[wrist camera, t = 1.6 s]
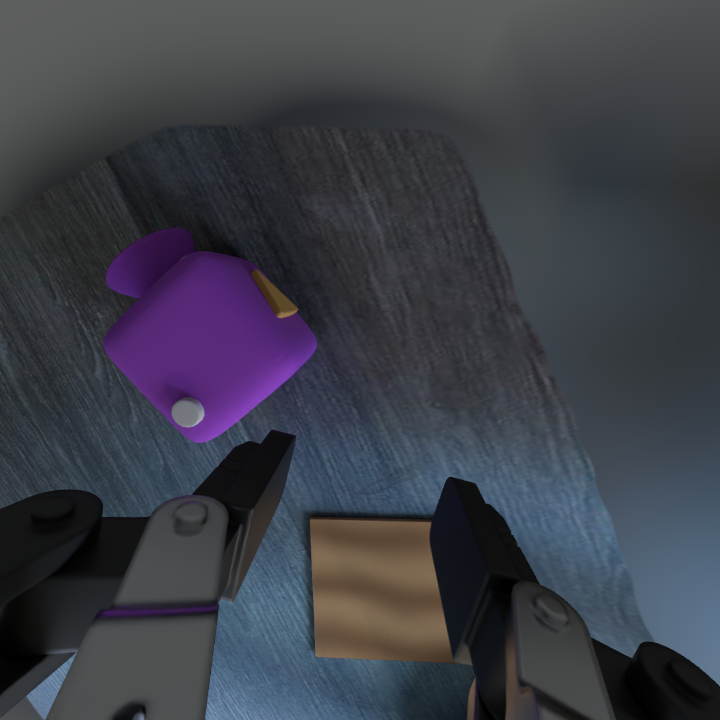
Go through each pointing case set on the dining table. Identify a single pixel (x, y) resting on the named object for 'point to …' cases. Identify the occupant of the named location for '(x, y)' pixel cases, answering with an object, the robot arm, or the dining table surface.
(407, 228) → the dining table surface
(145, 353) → the toy camera
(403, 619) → the square metal plate
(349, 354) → the dining table surface
